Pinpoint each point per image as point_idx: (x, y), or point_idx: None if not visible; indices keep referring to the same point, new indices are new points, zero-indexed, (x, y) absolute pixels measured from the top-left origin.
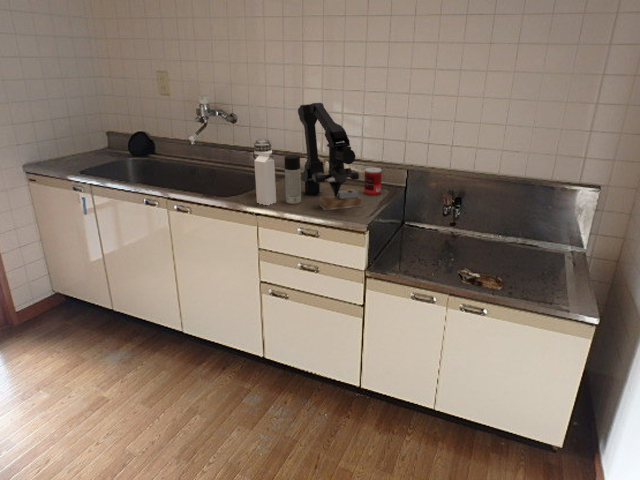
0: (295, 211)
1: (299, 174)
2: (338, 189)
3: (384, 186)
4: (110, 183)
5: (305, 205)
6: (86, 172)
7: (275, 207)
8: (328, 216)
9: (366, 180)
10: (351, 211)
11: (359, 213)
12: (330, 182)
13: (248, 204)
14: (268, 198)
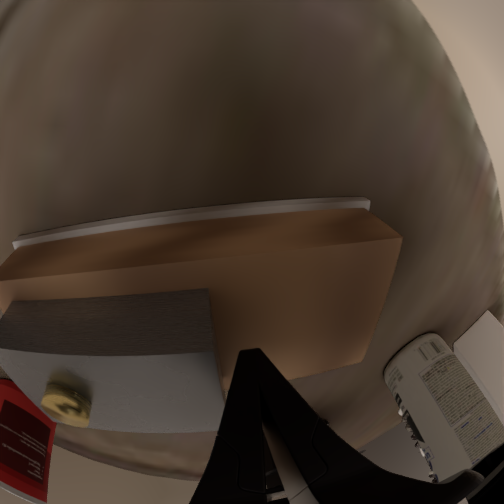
0: (479, 229)
1: (471, 465)
2: (231, 429)
3: None
4: None
5: (405, 313)
6: None
7: (485, 294)
8: (379, 39)
9: (30, 458)
10: (113, 100)
11: (63, 41)
12: (481, 482)
13: None
14: (496, 332)
